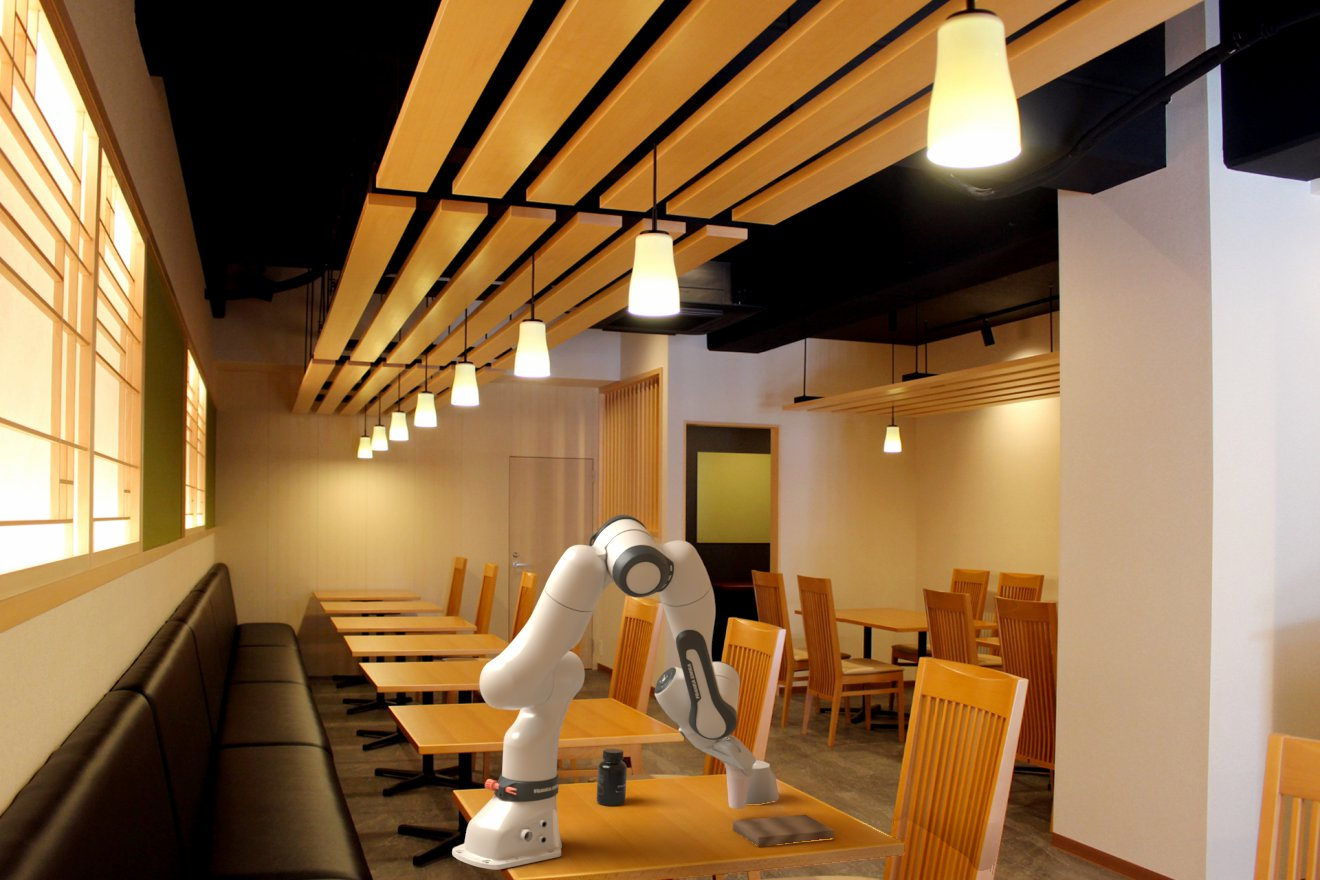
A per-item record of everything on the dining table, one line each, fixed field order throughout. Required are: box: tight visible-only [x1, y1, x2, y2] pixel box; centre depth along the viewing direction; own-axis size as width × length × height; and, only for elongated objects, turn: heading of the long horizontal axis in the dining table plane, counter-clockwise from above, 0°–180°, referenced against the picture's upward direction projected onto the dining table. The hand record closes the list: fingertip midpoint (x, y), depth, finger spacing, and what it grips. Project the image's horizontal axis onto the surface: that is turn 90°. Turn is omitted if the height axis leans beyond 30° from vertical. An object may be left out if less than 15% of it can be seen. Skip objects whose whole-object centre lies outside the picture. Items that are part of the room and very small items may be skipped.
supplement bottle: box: [596, 748, 628, 807], centre depth 247 cm, size 7×7×12 cm
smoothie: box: [724, 762, 753, 810], centre depth 237 cm, size 6×6×14 cm
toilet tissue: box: [746, 759, 780, 804], centre depth 255 cm, size 9×13×9 cm
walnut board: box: [732, 814, 835, 848], centre depth 227 cm, size 18×12×2 cm, turn 112°
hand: (740, 769), depth 238 cm, fingers closed on smoothie, 6 cm apart
